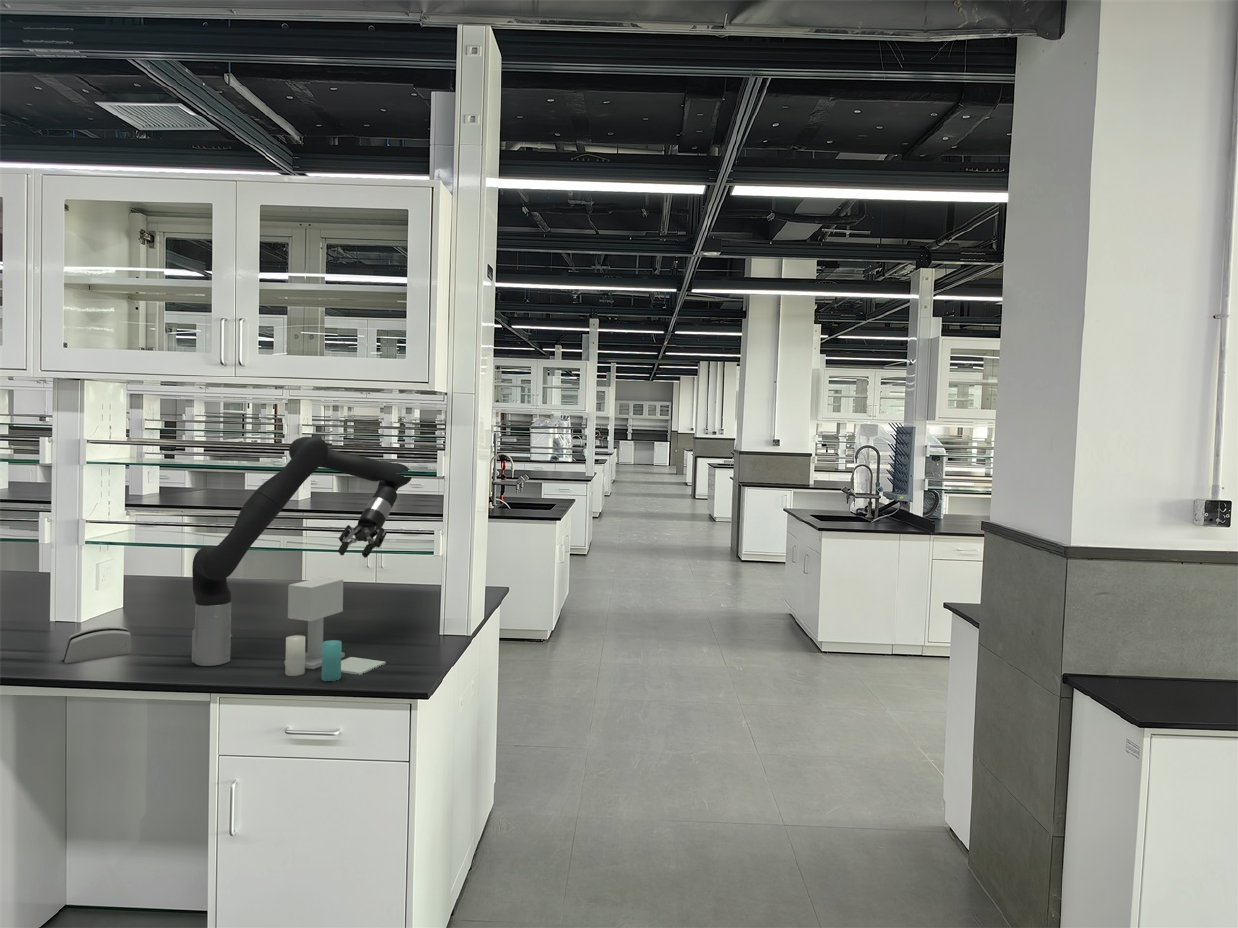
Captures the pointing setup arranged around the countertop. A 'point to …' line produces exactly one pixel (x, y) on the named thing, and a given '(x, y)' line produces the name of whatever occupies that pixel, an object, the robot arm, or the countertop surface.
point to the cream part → (295, 655)
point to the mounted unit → (315, 611)
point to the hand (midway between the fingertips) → (352, 554)
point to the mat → (359, 665)
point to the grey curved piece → (97, 644)
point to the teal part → (331, 660)
